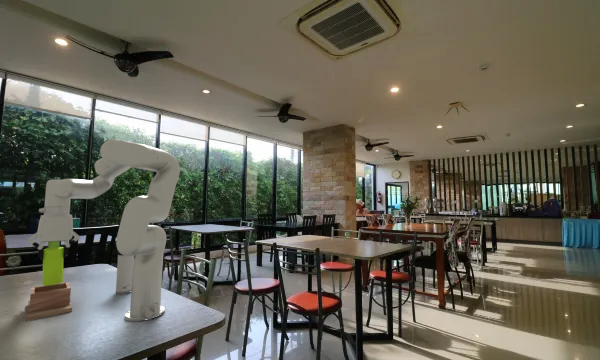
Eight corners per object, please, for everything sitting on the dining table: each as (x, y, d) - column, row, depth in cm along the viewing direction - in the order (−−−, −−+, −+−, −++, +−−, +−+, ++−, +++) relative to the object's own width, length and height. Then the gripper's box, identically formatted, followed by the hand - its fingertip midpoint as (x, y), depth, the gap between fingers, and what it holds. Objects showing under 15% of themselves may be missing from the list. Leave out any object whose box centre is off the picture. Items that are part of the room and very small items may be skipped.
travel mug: (127, 294, 121) (129, 248, 122) (112, 294, 121) (115, 247, 123) (136, 290, 127) (138, 245, 129) (121, 290, 127) (124, 245, 129)
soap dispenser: (35, 285, 104) (37, 231, 105) (58, 280, 110) (60, 229, 111) (43, 287, 101) (44, 232, 102) (65, 281, 107) (67, 229, 108)
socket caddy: (72, 311, 102) (73, 290, 102) (26, 320, 93) (28, 297, 94) (68, 297, 116) (69, 279, 117) (28, 304, 108) (29, 285, 109)
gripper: (25, 212, 99) (20, 263, 98) (86, 211, 111) (82, 257, 109) (26, 211, 105) (22, 260, 103) (84, 211, 116) (80, 254, 115)
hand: (53, 258), depth 106 cm, fingers closed on soap dispenser, 6 cm apart
